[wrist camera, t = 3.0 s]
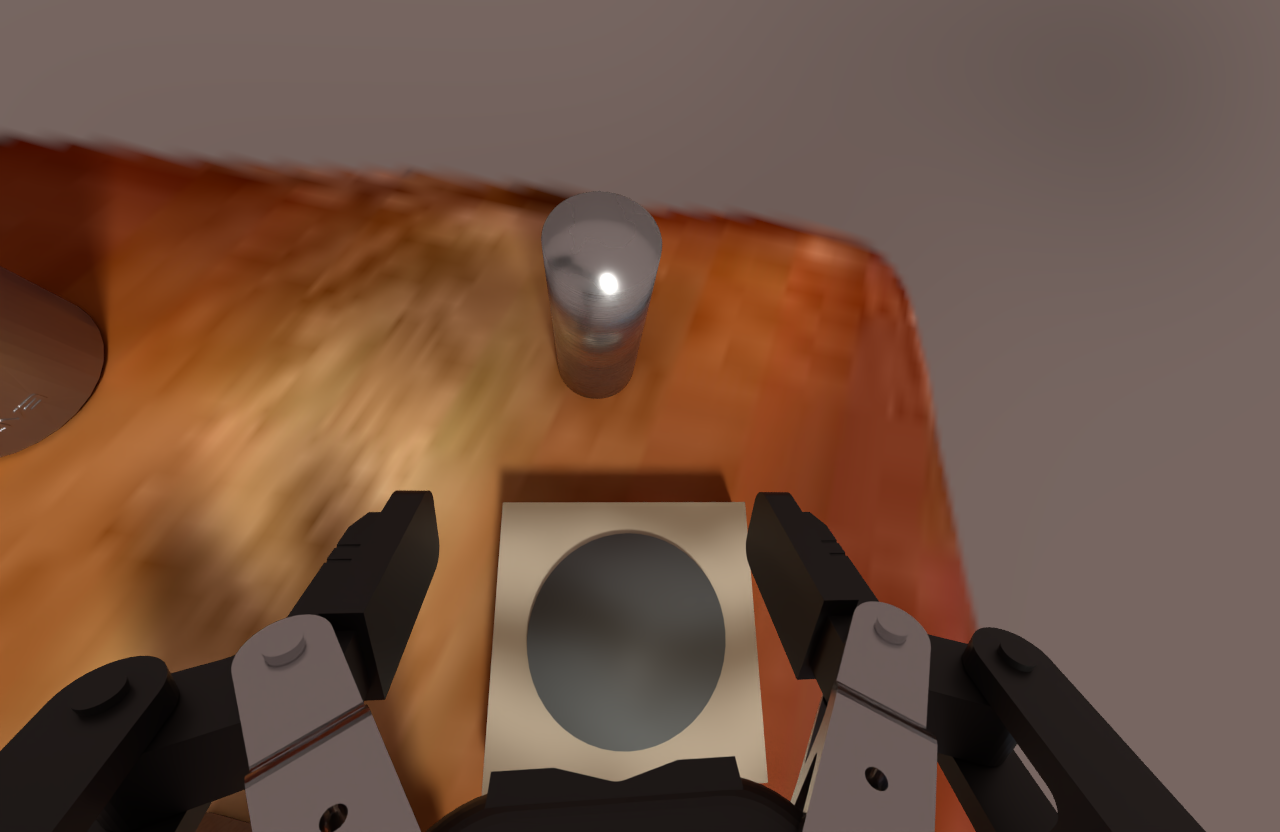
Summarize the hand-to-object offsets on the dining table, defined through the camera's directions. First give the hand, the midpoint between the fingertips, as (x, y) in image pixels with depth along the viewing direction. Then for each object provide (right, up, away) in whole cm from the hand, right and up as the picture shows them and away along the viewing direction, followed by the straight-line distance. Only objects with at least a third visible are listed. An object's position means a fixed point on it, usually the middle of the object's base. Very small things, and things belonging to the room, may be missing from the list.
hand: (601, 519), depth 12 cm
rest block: (0, -8, +12) cm, 14 cm away
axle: (-2, +6, +16) cm, 17 cm away
